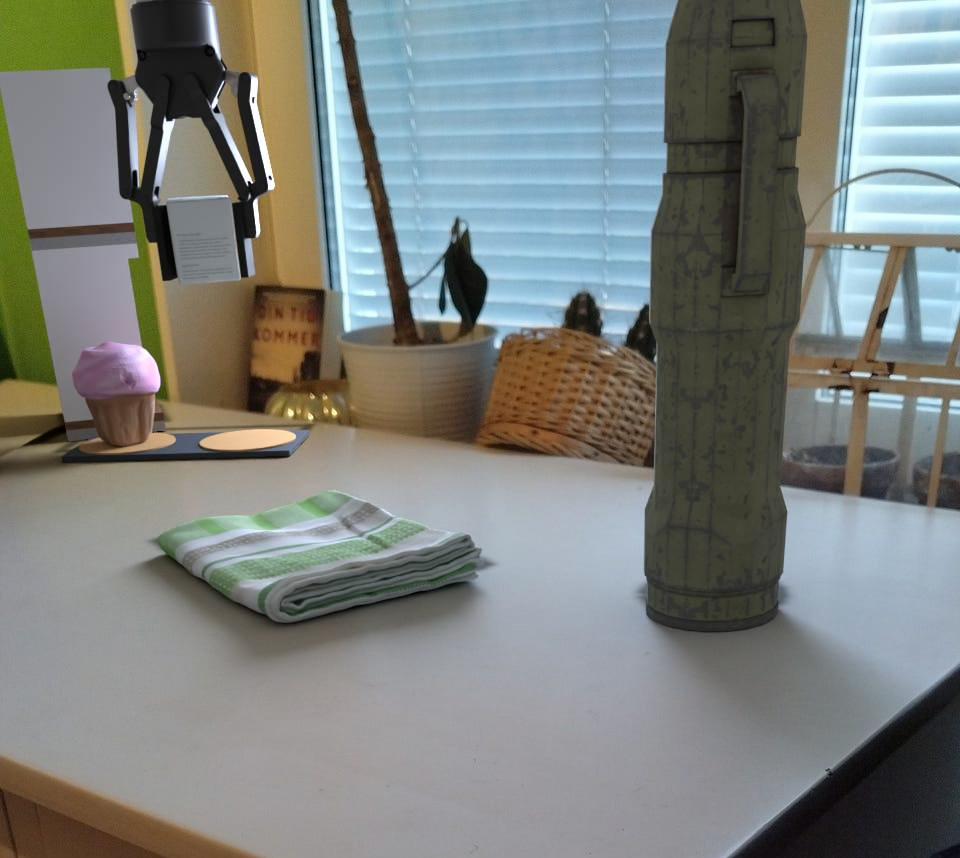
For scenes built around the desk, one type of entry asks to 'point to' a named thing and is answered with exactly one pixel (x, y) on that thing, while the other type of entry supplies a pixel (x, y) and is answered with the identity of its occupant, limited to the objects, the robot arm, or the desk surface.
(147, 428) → the cupcake
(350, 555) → the dish towel
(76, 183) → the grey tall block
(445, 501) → the desk surface
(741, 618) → the thermos
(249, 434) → the placemat
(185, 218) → the product carton
